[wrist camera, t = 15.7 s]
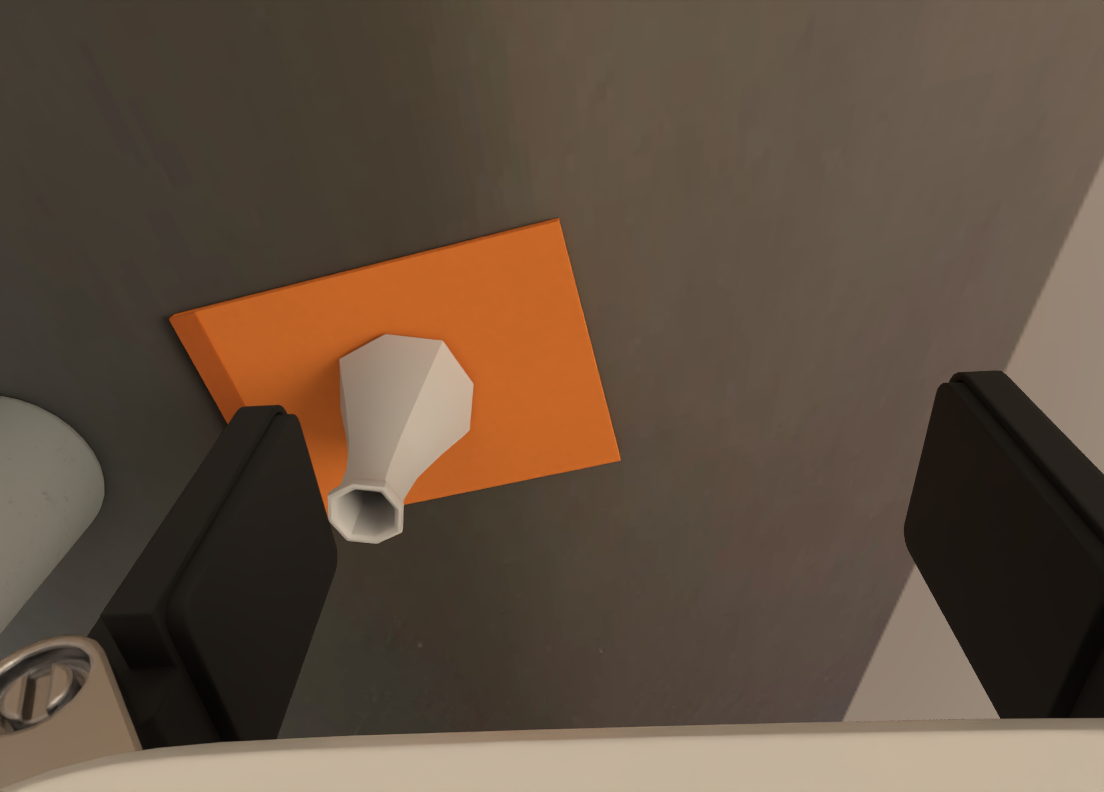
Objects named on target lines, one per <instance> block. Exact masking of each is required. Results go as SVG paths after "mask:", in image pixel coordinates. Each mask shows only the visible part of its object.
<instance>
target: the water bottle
mask: <svg viewBox="0 0 1104 792" xmlns="http://www.w3.org/2000/svg"><path fill="white" fill-rule="evenodd" d="M103 498H104V477H103V473H102V470H101V466H100V464H99V462H98V460H97V458H96V456H95V454H94V452H93V451H92V449H91V448H90V447H89V445H88V444H87V443H86V441H85V440H84V439H83V438H82V437H81V436H80V435H79V434H78V433H77V432H76V431H75V430H74V429H73V428H72V427H71V426H69V425H68V424H67V423H65V422H64V421H62V420H61V419H60V418H58V417H57V416H55V415H53V414H52V413H50V412H48V411H46V410H44V409H42V408H40V407H38V406H36V405H33V404H30V403H28V402H25V401H22V400H19V399H14V398H10V397H5V396H0V633H1V632H2V631H3V630H4V629H5V627H6V626H7V625H8V624H9V623H10V621H11V620H12V619H13V618H14V616H15V615H16V614H17V613H18V612H19V610H20V609H21V608H22V607H23V606H24V604H25V603H26V602H27V601H28V599H29V598H30V597H31V596H32V595H33V593H34V592H35V591H36V590H37V589H38V587H39V586H40V585H41V584H42V582H43V581H44V580H45V579H46V578H47V576H48V575H49V574H50V573H51V571H52V570H53V569H54V568H55V567H56V565H57V564H58V563H59V562H60V561H61V559H62V558H63V557H64V556H65V554H66V553H67V552H68V551H69V550H70V548H71V547H72V546H73V545H74V544H75V542H76V541H77V540H78V539H79V537H80V536H81V535H82V534H83V533H84V531H85V530H86V529H87V528H88V527H89V525H90V524H91V523H92V522H93V520H94V519H95V517H96V516H97V514H98V512H99V511H100V509H101V506H102V502H103Z"/></svg>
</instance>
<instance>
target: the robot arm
mask: <svg viewBox="0 0 1104 792" xmlns="http://www.w3.org/2000/svg"><path fill="white" fill-rule="evenodd" d="M904 537H905V542H906V546H907V548H908V551H909V552H910V554H911V556H912V558H913V560H914V562H915V563H916V565H917V567H918V569H919V571H920V573H921V574H922V576H923V578H924V580H925V582H926V584H927V585H928V587H929V589H930V591H931V593H932V594H933V596H934V598H935V600H936V602H937V604H938V605H939V607H940V609H941V611H942V613H943V614H944V616H945V618H946V620H947V622H948V624H949V625H950V627H951V629H952V631H953V633H954V635H955V637H956V638H957V640H958V642H959V644H960V645H961V647H962V649H963V651H964V653H965V655H966V657H967V658H968V660H969V662H970V664H971V665H972V668H973V669H974V671H975V673H976V675H977V677H978V679H979V680H980V682H981V684H982V686H983V688H984V689H985V691H986V693H987V695H988V697H989V699H990V700H991V702H992V704H993V706H994V708H995V710H996V711H997V713H998V715H999V717H1000V719H952V720H951V719H948V720H903V721H863V722H862V721H860V722H859V721H856V722H811V723H767V724H729V725H691V726H653V727H618V728H582V729H547V730H514V731H484V732H453V733H423V734H392V735H362V736H335V737H315V738H295V739H277V736H278V733H279V730H280V727H281V725H282V722H283V719H284V716H285V713H286V710H287V708H288V705H289V702H290V699H291V696H292V693H293V690H294V688H295V685H296V682H297V679H298V676H299V673H300V671H301V668H302V665H303V662H304V659H305V656H306V654H307V651H308V648H309V645H310V642H311V639H312V636H313V634H314V631H315V628H316V625H317V622H318V619H319V617H320V614H321V611H322V608H323V605H324V602H325V599H326V597H327V594H328V591H329V588H330V585H331V582H332V580H333V577H334V574H335V571H336V566H337V548H336V544H335V541H334V537H333V534H332V530H331V527H330V523H329V520H328V517H327V513H326V510H325V506H324V503H323V499H322V496H321V493H320V489H319V486H318V482H317V479H316V476H315V472H314V469H313V465H312V462H311V458H310V455H309V452H308V448H307V445H306V441H305V438H304V434H303V431H302V428H301V424H300V421H299V419H298V417H297V416H296V415H295V414H287V412H286V410H285V409H284V407H283V406H281V405H264V406H244V407H240V408H239V409H238V410H237V411H236V413H235V414H234V416H233V417H232V419H231V420H230V422H229V423H228V425H227V426H226V428H225V429H224V431H223V432H222V434H221V435H220V437H219V438H218V440H217V441H216V443H215V444H214V446H213V447H212V449H211V450H210V452H209V453H208V455H207V456H206V458H205V459H204V461H203V462H202V464H201V465H200V467H199V468H198V470H197V471H196V473H195V474H194V476H193V477H192V479H191V480H190V482H189V483H188V485H187V486H186V488H185V489H184V491H183V492H182V494H181V495H180V497H179V498H178V500H177V501H176V503H175V504H174V506H173V507H172V509H171V510H170V512H169V513H168V515H167V516H166V518H165V519H164V521H163V522H162V524H161V525H160V527H159V528H158V530H157V531H156V533H155V534H154V536H153V537H152V539H151V540H150V542H149V543H148V545H147V546H146V548H145V549H144V550H143V552H142V553H141V555H140V556H139V558H138V559H137V561H136V562H135V564H134V565H133V567H132V568H131V570H130V571H129V573H128V574H127V576H126V577H125V579H124V580H123V582H122V583H121V585H120V586H119V588H118V589H117V591H116V592H115V594H114V595H113V597H112V598H111V600H110V601H109V603H108V604H107V606H106V607H105V609H104V610H103V612H102V613H101V615H100V618H99V619H98V621H97V622H96V624H95V625H94V627H93V628H92V630H91V631H90V633H89V634H88V636H87V637H86V636H84V635H62V636H57V637H52V638H47V639H44V640H41V641H39V642H36V643H34V644H31V645H28V646H26V647H24V648H22V649H20V650H18V651H17V652H15V653H13V654H12V655H10V656H8V657H6V658H5V659H3V660H2V661H0V792H1104V474H1103V473H1102V472H1101V471H1100V470H1099V469H1098V468H1097V467H1096V466H1095V465H1094V464H1093V463H1092V462H1091V461H1090V460H1089V459H1088V458H1087V457H1086V456H1085V455H1084V454H1083V453H1082V452H1081V451H1080V450H1079V449H1078V448H1077V447H1076V446H1075V445H1074V444H1073V443H1072V442H1071V441H1070V439H1068V438H1067V436H1066V435H1065V434H1064V433H1063V432H1062V431H1061V430H1060V429H1059V428H1058V427H1057V426H1056V425H1055V424H1054V423H1053V422H1052V421H1051V420H1050V419H1049V418H1048V417H1047V416H1046V415H1045V414H1044V413H1043V412H1042V411H1041V410H1040V409H1039V408H1038V407H1037V406H1036V405H1035V404H1034V403H1033V402H1032V401H1031V400H1030V399H1029V397H1028V396H1026V394H1025V393H1024V392H1023V391H1022V390H1021V389H1020V388H1019V387H1018V386H1017V385H1016V384H1015V383H1014V382H1013V381H1012V380H1011V379H1010V378H1009V377H1008V376H1007V375H1006V374H1005V373H1003V372H1002V371H977V372H958V373H956V374H954V375H953V376H952V378H951V379H950V381H949V383H943V384H941V385H940V386H939V388H938V390H937V393H936V396H935V400H934V405H933V409H932V413H931V417H930V421H929V425H928V429H927V433H926V438H925V442H924V446H923V450H922V454H921V458H920V462H919V466H918V470H917V475H916V479H915V483H914V487H913V491H912V495H911V499H910V503H909V508H908V512H907V516H906V520H905V525H904Z"/></svg>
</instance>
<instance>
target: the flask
mask: <svg viewBox="0 0 1104 792" xmlns="http://www.w3.org/2000/svg"><path fill="white" fill-rule="evenodd" d="M473 386H474V384H473V382H472V381H471V380H470V378H469V377H468V375H467V374H466V373H465V371H464V370H463V368H462V367H461V366H460V364H459V363H458V361H457V360H456V359H455V357H454V356H453V354H452V353H451V352H450V350H449V349H448V347H447V346H446V345H445V343H444V342H443V341H441V340H432V339H424V338H415V337H407V336H398V335H390V334H384V335H383V336H381V337H379V338H377V339H375V340H373V341H372V342H370V343H368V344H366V345H364V346H362V347H361V348H359V349H357V350H355V351H353V352H351V353H350V354H348V355H346V356H344V357H342V358H340V407H341V415H342V420H343V425H344V430H345V435H346V441H347V449H348V459H347V468H346V472H345V474H344V477H343V480H342V482H341V485H340V486H338V487H336V488H334V489H332V490H331V491H330V492H329V493H328V520H329V522H330V523H331V524H332V525H333V526H334V527H335V528H336V529H337V530H338V531H339V532H340V534H341V535H342V536H343V537H344V538H345V539H346V540H347V541H356V542H365V543H375V544H378V543H380V542H382V541H384V540H386V539H388V538H391V537H393V536H395V535H397V534H399V533H401V532H402V530H403V509H404V503H403V501H404V498H405V497H406V495H407V494H408V492H409V490H410V489H411V487H412V486H413V484H414V482H415V481H416V479H417V478H418V477H419V476H420V475H421V474H422V473H423V472H424V471H425V470H426V469H427V468H428V467H429V466H430V465H431V464H432V463H433V462H434V461H435V460H436V459H438V458H439V457H440V456H441V455H442V454H443V453H444V452H445V451H446V450H448V449H449V448H450V447H451V446H452V445H454V444H455V443H456V442H457V441H458V440H459V439H461V438H462V437H463V436H464V435H465V434H466V433H467V432H468V431H469V430H470V421H471V409H472V397H473Z"/></svg>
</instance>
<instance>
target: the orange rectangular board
mask: <svg viewBox="0 0 1104 792" xmlns="http://www.w3.org/2000/svg"><path fill="white" fill-rule="evenodd" d="M169 321H170V322H171V324H172V326H173V328H174V329H175V331H176V333H177V335H178V337H179V338H180V340H181V342H182V344H183V345H184V347H185V349H186V351H187V353H188V354H189V356H190V358H191V360H192V361H193V363H194V365H195V367H196V369H197V370H198V372H199V374H200V376H201V378H202V379H203V381H204V383H205V385H206V386H207V388H208V390H209V392H210V394H211V395H212V397H213V399H214V401H215V402H216V404H217V406H218V408H219V410H220V411H221V413H222V415H223V417H224V418H225V420H226V422H227V424H228V423H229V422H230V420H231V419H232V417H233V416H234V414H235V413H236V411H237V410H238V409H239V408H240V407H244V406H264V405H281V406H283V407H284V409H285V410H286V412H287V414H295V415H296V416H297V417H298V419H299V421H300V424H301V428H302V431H303V434H304V438H305V441H306V445H307V448H308V452H309V455H310V458H311V462H312V465H313V469H314V472H315V476H316V479H317V482H318V486H319V489H320V493H321V496H322V499H323V503H324V506H325V510H326V513H327V517H328V493H329V492H330V491H331V490H332V489H334V488H336V487H338V486H340V485H341V482H342V480H343V477H344V474H345V472H346V468H347V459H348V449H347V441H346V435H345V430H344V425H343V420H342V415H341V407H340V358H342V357H344V356H346V355H348V354H350V353H351V352H353V351H355V350H357V349H359V348H361V347H362V346H364V345H366V344H368V343H370V342H372V341H373V340H375V339H377V338H379V337H381V336H383V335H384V334H390V335H398V336H407V337H415V338H424V339H432V340H441V341H443V342H444V343H445V345H446V346H447V347H448V349H449V350H450V352H451V353H452V354H453V356H454V357H455V359H456V360H457V361H458V363H459V364H460V366H461V367H462V368H463V370H464V371H465V373H466V374H467V375H468V377H469V378H470V380H471V381H472V382H473V384H474V386H473V397H472V409H471V421H470V430H469V431H468V432H467V433H466V434H465V435H464V436H463V437H462V438H461V439H459V440H458V441H457V442H456V443H455V444H454V445H452V446H451V447H450V448H449V449H448V450H446V451H445V452H444V453H443V454H442V455H441V456H440V457H439V458H438V459H436V460H435V461H434V462H433V463H432V464H431V465H430V466H429V467H428V468H427V469H426V470H425V471H424V472H423V473H422V474H421V475H420V476H419V477H418V478H417V479H416V481H415V482H414V484H413V486H412V487H411V489H410V490H409V492H408V494H407V495H406V497H405V498H404V501H403V503H404V505H406V504H410V503H415V502H420V501H425V500H430V499H435V498H440V497H445V496H450V495H455V494H459V493H464V492H469V491H474V490H479V489H484V488H489V487H494V486H499V485H504V484H508V483H513V482H518V481H523V480H528V479H533V478H538V477H543V476H548V475H553V474H557V473H562V472H567V471H572V470H577V469H582V468H587V467H592V466H597V465H602V464H606V463H611V462H616V461H620V454H619V450H618V446H617V442H616V438H615V434H614V430H613V426H612V423H611V419H610V415H609V411H608V407H607V403H606V399H605V396H604V392H603V388H602V384H601V380H600V376H599V372H598V368H597V365H596V361H595V357H594V353H593V349H592V345H591V341H590V337H589V334H588V330H587V326H586V322H585V318H584V314H583V310H582V307H581V303H580V299H579V295H578V291H577V287H576V283H575V279H574V276H573V272H572V268H571V264H570V260H569V256H568V252H567V248H566V245H565V241H564V237H563V233H562V229H561V225H560V221H559V219H558V218H556V219H552V220H548V221H544V222H540V223H536V224H532V225H528V226H524V227H520V228H516V229H512V230H508V231H504V232H500V233H496V234H492V235H488V236H484V237H480V238H476V239H472V240H468V241H464V242H460V243H456V244H452V245H448V246H444V247H440V248H436V249H432V250H428V251H424V252H420V253H416V254H412V255H408V256H404V257H400V258H396V259H392V260H388V261H384V262H380V263H376V264H372V265H368V266H364V267H360V268H356V269H352V270H348V271H344V272H340V273H336V274H332V275H328V276H324V277H320V278H316V279H312V280H308V281H304V282H300V283H296V284H292V285H288V286H284V287H280V288H276V289H272V290H268V291H264V292H260V293H257V294H253V295H249V296H245V297H241V298H237V299H233V300H229V301H225V302H221V303H217V304H213V305H209V306H205V307H201V308H197V309H193V310H189V311H185V312H181V313H177V314H174V315H173V316H172V317H171V318H169Z"/></svg>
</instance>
